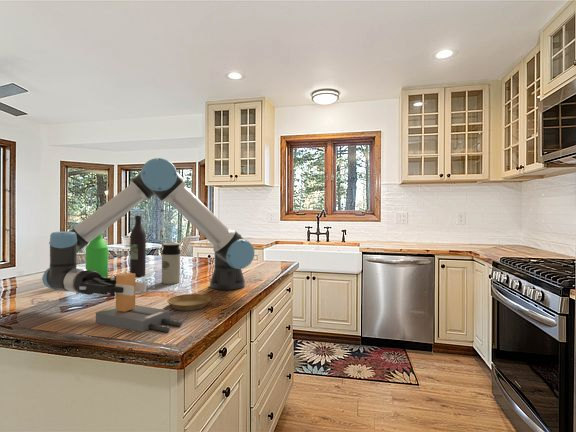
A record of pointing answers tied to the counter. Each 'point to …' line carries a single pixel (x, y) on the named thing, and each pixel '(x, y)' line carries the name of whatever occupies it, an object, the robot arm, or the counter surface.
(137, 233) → the wine bottle
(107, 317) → the switch box
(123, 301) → the breaker handle
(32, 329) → the counter surface
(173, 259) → the travel mug
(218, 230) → the robot arm
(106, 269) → the bottle
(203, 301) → the plant saucer
